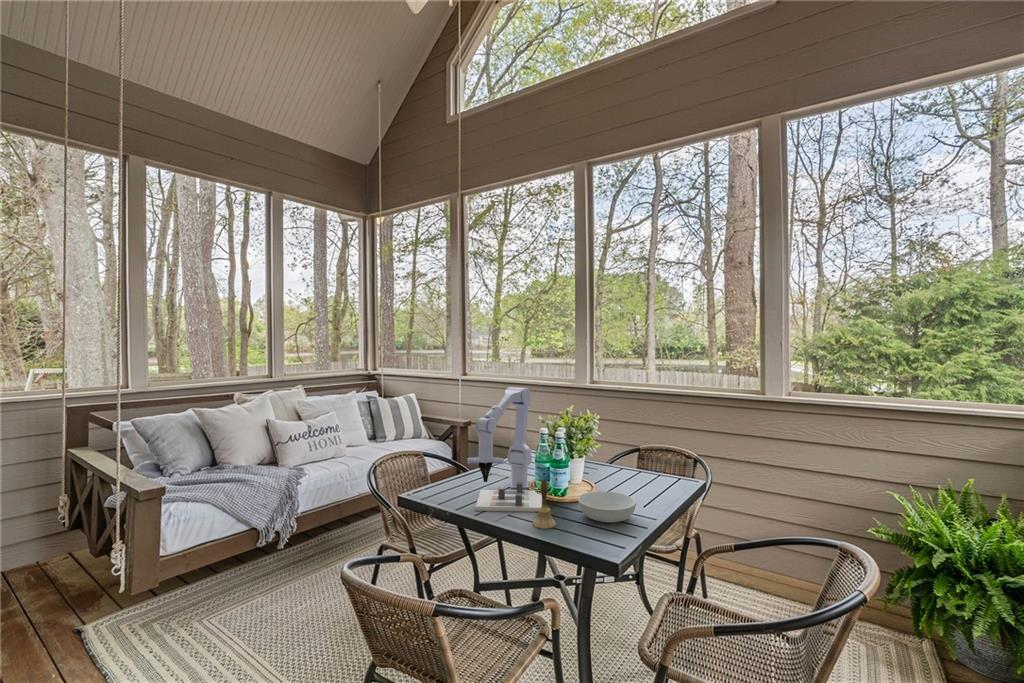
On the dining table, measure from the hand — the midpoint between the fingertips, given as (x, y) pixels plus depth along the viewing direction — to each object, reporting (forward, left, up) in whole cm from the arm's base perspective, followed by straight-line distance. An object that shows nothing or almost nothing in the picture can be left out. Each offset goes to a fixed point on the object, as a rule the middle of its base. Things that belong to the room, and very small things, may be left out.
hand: (485, 481), depth 192 cm
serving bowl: (+15, +46, -9) cm, 49 cm away
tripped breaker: (0, +7, -6) cm, 9 cm away
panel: (0, +10, -8) cm, 13 cm away
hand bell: (+22, +23, -9) cm, 33 cm away
